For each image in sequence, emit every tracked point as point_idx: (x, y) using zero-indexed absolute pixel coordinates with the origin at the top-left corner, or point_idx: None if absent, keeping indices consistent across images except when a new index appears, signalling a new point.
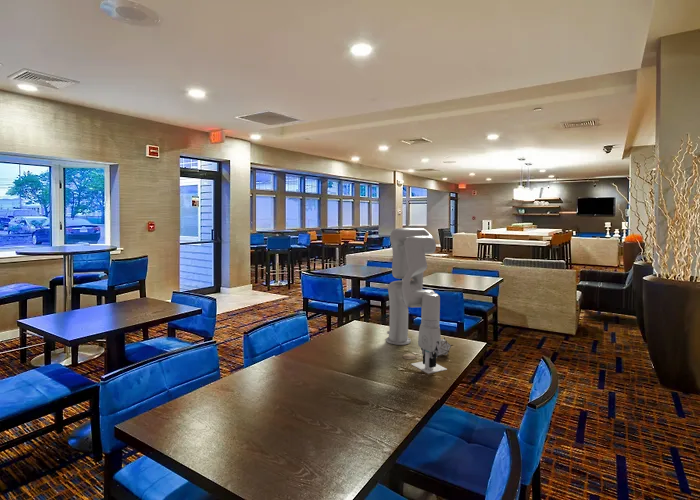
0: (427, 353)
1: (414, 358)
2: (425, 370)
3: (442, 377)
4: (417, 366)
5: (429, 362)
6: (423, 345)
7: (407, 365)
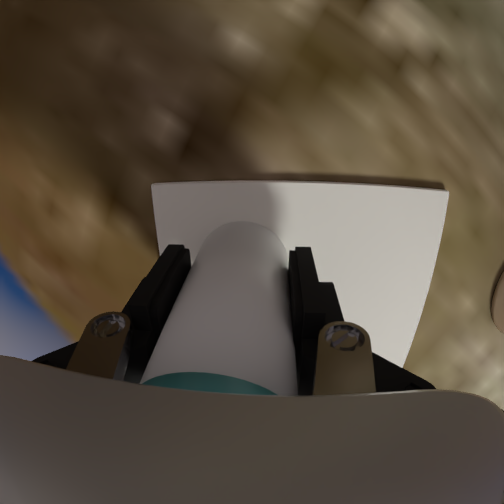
0: (173, 351)
1: (495, 299)
2: (222, 201)
3: (58, 243)
4: (361, 199)
5: (162, 270)
6: (210, 486)
7: (445, 142)
